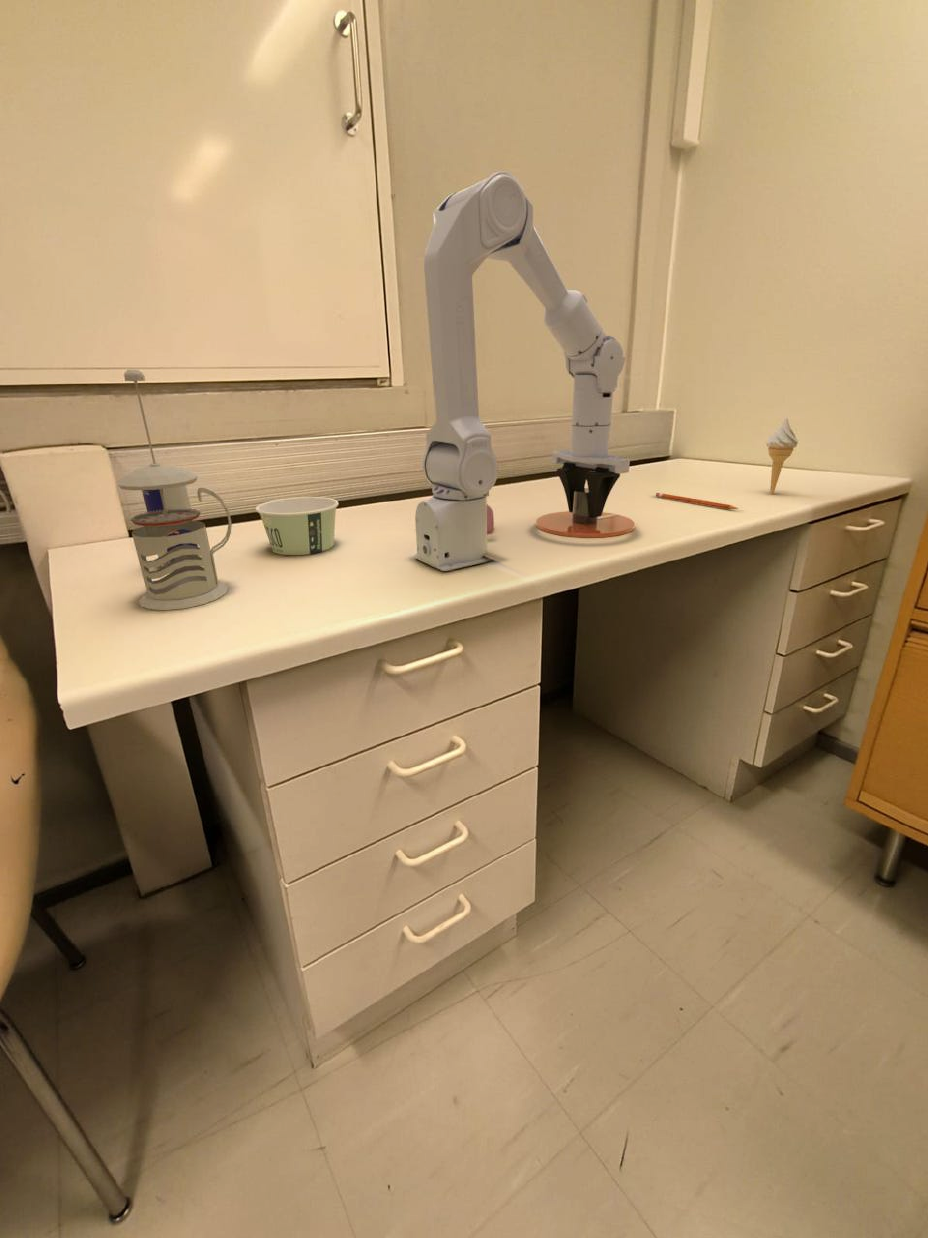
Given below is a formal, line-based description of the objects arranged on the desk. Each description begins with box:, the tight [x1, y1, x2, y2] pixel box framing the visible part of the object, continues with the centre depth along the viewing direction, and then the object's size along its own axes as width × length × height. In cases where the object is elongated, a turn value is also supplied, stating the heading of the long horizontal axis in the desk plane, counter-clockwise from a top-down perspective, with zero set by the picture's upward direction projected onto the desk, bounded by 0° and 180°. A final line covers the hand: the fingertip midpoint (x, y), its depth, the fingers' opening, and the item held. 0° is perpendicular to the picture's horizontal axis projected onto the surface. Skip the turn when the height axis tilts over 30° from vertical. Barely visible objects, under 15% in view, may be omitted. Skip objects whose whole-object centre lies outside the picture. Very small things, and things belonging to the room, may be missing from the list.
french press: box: [116, 368, 233, 611], centre depth 64 cm, size 10×12×25 cm
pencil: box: [655, 492, 740, 510], centre depth 109 cm, size 1×18×1 cm, turn 36°
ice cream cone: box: [766, 417, 799, 495], centre depth 114 cm, size 6×6×15 cm
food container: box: [255, 496, 339, 556], centre depth 85 cm, size 12×12×6 cm
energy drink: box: [141, 485, 202, 567], centre depth 77 cm, size 5×5×12 cm
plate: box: [535, 487, 636, 539], centre depth 90 cm, size 16×16×6 cm
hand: (585, 514), depth 91 cm, fingers closed on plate, 4 cm apart
